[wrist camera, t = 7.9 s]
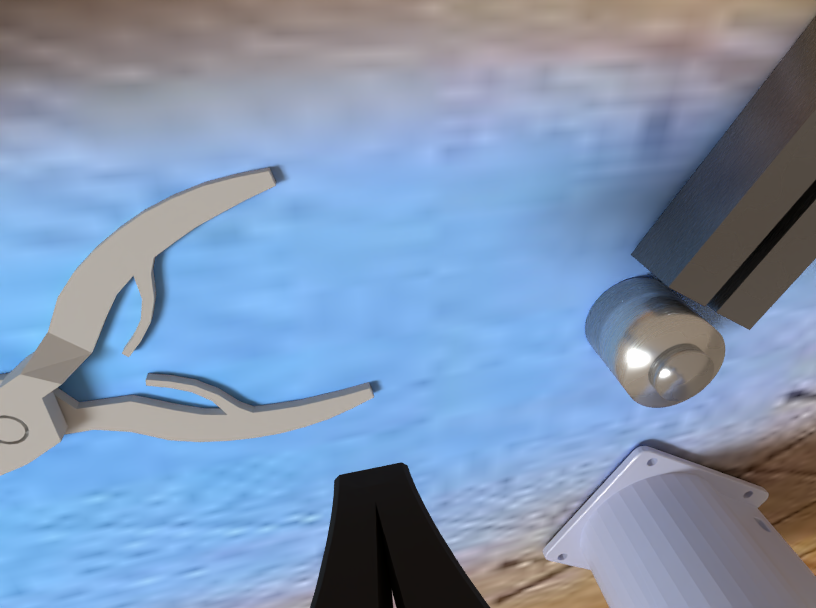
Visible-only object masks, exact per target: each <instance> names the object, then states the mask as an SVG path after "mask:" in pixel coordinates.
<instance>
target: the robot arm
mask: <svg viewBox="0 0 816 608" xmlns="http://www.w3.org/2000/svg"><path fill="white" fill-rule="evenodd" d="M768 496H769V494H768V492H767V491H766V490H765V489H764V488H763V487H761V486H758V485H755V484H752V483H750V482H747V481H744V480H741V479H738V478H735V477H733V476H730V475H727V474H724V473H721V472H719V471H716V470H713V469H710V468H707V467H705V466H702V465H699V464H696V463H693V462H691V461H688V460H685V459H682V458H679V457H676V456H674V455H671V454H668V453H665V452H662V451H660V450H657V449H654V448H651V447H648V446H640V447H638V448H636V449H635V450H633V451H632V453H631V454H630V455H629V456H628V457H627V458H626V459H625V460H624V461H623V462H622V463H621V465H620V466H619V467H618V468H617V469H616V470H615V471H614V472H613V473H612V474H611V475H610V477H609V478H608V479H607V480H606V481H605V482H604V483H603V484H602V485H601V486H600V487H599V489H598V490H597V491H596V492H595V493H594V494H593V495H592V496H591V497H590V498H589V499H588V501H587V502H586V503H585V504H584V505H583V506H582V507H581V508H580V509H579V510H578V511H577V513H576V514H575V515H574V516H573V517H572V518H571V519H570V520H569V521H568V522H567V523H566V524H565V526H564V527H563V528H562V529H561V530H560V531H559V532H558V533H557V534H556V535H555V536H554V538H553V539H552V540H551V541H550V542H549V543H548V544H547V545H546V546H545V548H544V549H543V553H544V556H545V558H546V559H547V560H549V561H553V562H558V563H562V564H567V565H571V566H576V567H580V568H585V569H589V570H591V571H592V573H593V575H594V577H595V579H596V581H597V583H598V585H599V587H600V589H601V591H602V593H603V595H604V597H605V599H606V601H607V603H608V606H609V608H816V576H815V575H814V574H813V573H812V572H811V570H810V569H809V568H808V567H807V566H806V565H805V563H804V562H803V561H802V560H801V559H800V557H799V556H798V555H797V554H796V553H795V552H794V550H793V549H792V548H791V547H790V546H789V545H788V543H787V542H786V541H785V540H784V539H783V538H782V536H781V535H780V534H779V533H778V532H777V530H776V529H775V528H774V527H773V526H772V525H771V523H770V522H769V521H768V520H767V519H766V518H765V516H764V515H763V514H762V513H761V512H760V511H759V509H758V507H759V506H761V505H762V504H763V503H764V502H765V501H766V500H767V499H768ZM392 592H393V596H394V600H395V604H396V608H490V607H489V605H488V604H487V603H486V601H485V600H484V599H483V597H482V596H481V594H480V593H479V591H478V590H477V589H476V587H475V586H474V584H473V583H472V582H471V580H470V579H469V577H468V576H467V574H466V573H465V571H464V570H463V568H462V567H461V566H460V564H459V563H458V561H457V559H456V558H455V556H454V555H453V553H452V551H451V550H450V548H449V547H448V545H447V543H446V542H445V540H444V539H443V537H442V535H441V534H440V532H439V530H438V529H437V527H436V525H435V524H434V522H433V520H432V518H431V516H430V514H429V513H428V511H427V509H426V507H425V505H424V503H423V501H422V499H421V497H420V495H419V493H418V491H417V489H416V487H415V484H414V482H413V479H412V477H411V474H410V472H409V468H408V466H407V465H405V464H404V463H402V462H401V463H396V464H392V465H387V466H382V467H377V468H372V469H367V470H362V471H357V472H352V473H347V474H342V475H339V476H338V477H337V478H336V479H335V480H334V497H333V507H332V514H331V520H330V526H329V531H328V537H327V542H326V547H325V551H324V555H323V560H322V564H321V568H320V573H319V577H318V581H317V585H316V589H315V593H314V596H313V600H312V603H311V606H310V608H393V599H392Z"/></svg>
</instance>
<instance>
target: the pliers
mask: <svg viewBox="0 0 816 608" xmlns="http://www.w3.org/2000/svg"><path fill="white" fill-rule="evenodd" d="M274 186H276V181H275V179H274V177H273V175H272V172H271V170H270V168H264V169H259V170H253V171H248V172H243V173H238V174H234V175H230V176H226V177H222V178H218V179H215V180H211V181H207V182H204V183H201V184H199V185H196V186H194V187H191V188H189V189H186V190H184V191H181V192H179V193H176V194H174V195H172V196H170V197H168V198H166V199H164V200H162V201H160V202H159V203H157V204H155V205H153V206H151V207H149V208H147V209H145V210H144V211H142V212H141V213H139V214H138V215H136V216H135V217H134V218H132V219H131V220H129V221H128V222H126V223H125V224H124V225H122V226H121V227H119V228H118V229H117V230H116V231H115V232H113V233H112V234H111V235H110V236H109V237H107V238H106V239H105V240H104V241H103V242H102V243H100V244H99V245H98V246H97V247H96V248H95V249H94V250H93V251H92V252H91V253H90V254H89V256H88V257H87V258H86V259H85V260H84V261H83V262H82V263H81V264H80V265H79V266H78V267H77V269H76V270H75V272H74V273H73V275H72V276H71V278H70V279H69V281H68V282H67V284H66V286H65V287H64V289H63V290H62V292H61V293H60V295H59V296H58V298H57V302H56V305H55V309H54V313H53V316H52V320H51V323H50V327H49V330H48V333H47V334H46V336H45V337H44V339H43V340H42V342H41V343H40V345H39V346H38V348H37V349H36V351H35V352H33V353H32V354H30V355H29V356H27V357H26V358H25V359H24V360H23V361H22V362H21V363H20V364H19V365H17V366H16V367H15V368H14V369H13V370H12V371H11V372H10V373H5V374H0V476H1V475H3V474H5V473H8V472H10V471H12V470H15V469H17V468H20V467H22V466H24V465H27V464H28V463H30V462H31V461H33V460H34V459H36V458H37V457H39V456H40V455H42V454H43V453H45V452H46V451H48V450H49V449H50V448H52V447H53V446H55V445H56V444H58V443H59V442H61V440H62V438H63V436H64V434H70V433H76V432H82V431H89V430H109V431H126V432H134V433H139V434H143V435H148V436H153V437H157V438H162V439H167V440H176V441H192V442H210V441H231V440H240V439H249V438H256V437H262V436H268V435H274V434H280V433H283V432H287V431H291V430H295V429H299V428H303V427H306V426H309V425H312V424H315V423H318V422H321V421H324V420H327V419H330V418H332V417H334V416H336V415H339V414H341V413H343V412H345V411H347V410H350V409H352V408H354V407H356V406H358V405H360V404H362V403H364V402H365V401H367V400H369V399H371V398H373V397H374V395H373V390H372V388H371V386H370V384H369V382H368V383H364V384H361V385H357V386H354V387H350V388H347V389H343V390H339V391H335V392H331V393H327V394H322V395H318V396H314V397H309V398H305V399H301V400H295V401H289V402H283V403H276V404H268V405H260V406H251V405H249V404H246V403H243V402H240V401H238V400H237V399H235V398H234V397H232V396H230V395H229V394H227V393H226V392H224V391H222V390H221V389H219V388H217V387H214V386H212V385H209V384H206V383H204V382H201V381H199V380H196V379H191V378H185V377H179V376H174V375H164V374H152V373H148V375H147V378H146V385H147V386H157V387H168V388H174V389H179V390H184V391H189V392H193V393H195V394H197V395H200V396H202V397H204V398H206V399H209V400H211V401H213V402H214V403H215V404H216V405H217V406H218V407H219V408H199V407H193V406H187V405H181V404H175V403H171V402H166V401H161V400H156V399H151V398H146V397H142V396H137V395H127V396H120V397H113V398H106V399H99V400H92V401H85V402H78V401H77V400H75V399H74V398H72V397H71V396H69V395H68V394H66V393H65V392H63V391H62V390H60V389H59V388H57V387H59V386H60V385H62V384H63V383H64V382H65V381H66V379H67V378H68V377H69V376H70V375H71V374H72V373H73V372H74V371H75V370H76V369H77V368H78V367H79V366H80V365H81V364H82V363H83V362H84V361H85V360H86V359H87V358H88V357H89V356H90V354H91V353H92V352H93V350H94V348H95V346H96V343H97V341H98V338H99V336H100V333H101V330H102V328H103V325H104V323H105V320H106V318H107V315H108V313H109V310H110V308H111V306H112V304H113V302H114V300H115V298H116V296H117V294H118V293H119V291H120V290H121V289H122V288H123V287H124V286H125V285H126V283H127V282H128V281H129V280H130V279H131V278H132V277H133V276H134V278H135V281H136V284H137V286H138V289H139V292H140V295H141V297H142V310H141V320H140V322H139V325H138V327H137V329H136V331H135V333H134V334H133V336H132V337H131V339H130V340H129V342H128V343H127V344H126V346H125V347H124V350H123V352H122V354H124V355H126V356H128V357H129V356H130V355H131V354H132V352H133V351H134V350H135V348H136V347H137V346H138V344H139V343H140V342H141V340H142V338H143V336H144V334H145V332H146V330H147V328H148V327H149V325H150V323H151V320H152V318H153V312H154V306H155V300H156V287H155V279H154V271H153V267H154V262H155V256H157V255H158V254H159V253H161V252H162V251H163V250H165V249H166V248H167V247H169V246H170V245H171V244H173V243H174V242H175V241H177V240H178V239H180V238H181V237H183V236H184V235H185V234H187V233H188V232H190V231H191V230H193V229H194V228H195V227H197V226H199V225H201V224H203V223H204V222H206V221H208V220H210V219H211V218H213V217H215V216H217V215H219V214H220V213H222V212H224V211H226V210H228V209H230V208H232V207H233V206H235V205H237V204H239V203H241V202H243V201H245V200H246V199H249V198H251V197H253V196H255V195H257V194H259V193H261V192H263V191H266V190H268V189H270V188H272V187H274Z"/></svg>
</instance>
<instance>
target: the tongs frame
mask: <svg viewBox="0 0 816 608" xmlns="http://www.w3.org/2000/svg"><path fill="white" fill-rule="evenodd" d="M815 258H816V180H815V181H814V182H813V183H812V184H811V185H810V187H809V188H808V189H807V190H806V191H805V192H804V193H803V195H802V196H801V197H800V198H799V199H798V200H797V201H796V203H795V204H794V205H793V206H792V207H791V208H790V210H789V211H788V212H787V213H786V214H785V215H784V216H783V218H782V219H781V220H780V221H779V222H778V223H777V224H776V226H775V227H774V228H773V229H772V230H771V231H770V232H769V234H768V235H767V236H766V237H765V238H764V239H763V240H762V242H761V243H760V244H759V245H758V246H757V247H756V248H755V250H754V251H753V252H752V253H751V254H750V255H749V257H748V258H747V259H746V260H745V261H744V262H743V263H742V265H741V266H740V267H739V268H738V269H737V270H736V271H735V273H734V274H733V275H732V276H731V277H730V278H729V279H728V281H727V282H726V283H725V284H724V285H723V286H722V287H721V289H720V290H719V291H718V292H717V293H716V294H715V295H714V297H713V298H712V299H711V300H710V301H709V302H708V304H707V305H708V306H709V307H710V308H712V309H713V310H714V311H715V312H716V313H718V314H720V315H722V316H724V317H726V318H728V319H730V320H732V321H734V322H736V323H737V324H739V325H741V326H743V327H745V328H747V329H749V330H750V329H751V328H752V327H753V326H754V325H755V324H756V322H757V321H758V320H759V319H760V318H761V317H762V316H763V315H764V314H765V313H766V312H767V310H768V309H769V308H770V307H771V306H772V305H773V304H774V303H775V302H776V301H777V300H778V299H779V297H780V296H781V295H782V294H783V293H784V292H785V291H786V290H787V289H788V288H789V287H790V286H791V284H792V283H793V282H794V281H795V280H796V279H797V278H798V277H799V276H800V275H801V274H802V273H803V271H804V270H805V269H806V268H807V267H808V266H809V265H810V264H811V263H812V262H813V261H814V260H815ZM585 334H586V338H587V340H588V342H589V344H590V345H591V346H592V348H593V349H594V350H595V352H596V353H597V354H598V355H599V357H600V358H601V359H602V361H603V362H604V363H605V364H606V366H607V367H608V368H609V370H610V371H611V372H612V373H613V375H614V376H615V377H616V379H617V380H618V381H619V382H620V384H621V385H622V386H623V388H624V389H625V390H626V391H627V393H628V394H629V395H630V397H631V398H632V399H633V400H634V401H636V402H637V403H639V404H641V405H643V406H646V407H652V408H661V407H668V406H672V405H676V404H678V403H681V402H683V401H685V400H687V399H689V398H691V397H693V396H694V395H696V394H698V393H699V392H700V391H702V390H703V389H704V388H705V387H706V386H707V385H708V384H709V383H710V382H711V381H712V379H713V378H714V377H715V376H716V374H717V373H718V371H719V369H720V367H721V365H722V363H723V360H724V356H725V343H724V340H723V337H722V336H721V334H720V333H719V332H718V331H717V330H716V329H715V328H714V327H713V326H711V325H710V324H709V323H708V322H707V321H706V320H704V319H703V318H702V317H701V316H700V315H699V314H698V313H696V312H695V311H694V310H693V309H692V308H691V307H690V306H688V305H687V304H686V303H685V302H684V301H683V300H682V299H680V298H679V297H678V296H677V295H676V294H675V293H673V292H672V291H671V290H670V289H669V288H668V287H667V286H665V285H664V284H663V283H662V282H660V281H658V280H656V279H653V278H648V277H637V278H632V279H628V280H625V281H622V282H620V283H618V284H616V285H614V286H613V287H611V288H610V289H608V290H607V291H606V292H604V293H603V294H602V295H601V296H600V297H599V298H598V299H597V301H596V302H595V303H594V305H593V306H592V308H591V309H590V311H589V313H588V316H587V319H586V324H585Z"/></svg>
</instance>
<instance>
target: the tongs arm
mask: <svg viewBox="0 0 816 608" xmlns="http://www.w3.org/2000/svg"><path fill="white" fill-rule="evenodd" d="M815 180H816V17H815V18H814V19H813V21H812V22H811V23H810V24H809V26H808V27H807V28H806V30H805V31H804V32H803V34H802V35H801V36H800V37H799V39H798V40H797V41H796V43H795V44H794V45H793V46H792V48H791V49H790V50H789V52H788V53H787V54H786V55H785V57H784V58H783V59H782V61H781V62H780V63H779V64H778V66H777V67H776V68H775V70H774V71H773V72H772V73H771V75H770V76H769V77H768V79H767V80H766V81H765V82H764V84H763V85H762V86H761V88H760V89H759V90H758V91H757V93H756V94H755V95H754V97H753V98H752V99H751V100H750V102H749V103H748V104H747V106H746V107H745V108H744V109H743V111H742V112H741V113H740V115H739V116H738V117H737V119H736V120H735V121H734V122H733V124H732V125H731V126H730V128H729V129H728V130H727V131H726V133H725V134H724V135H723V137H722V138H721V139H720V140H719V142H718V143H717V144H716V146H715V147H714V148H713V149H712V151H711V152H710V153H709V155H708V156H707V157H706V158H705V160H704V161H703V162H702V164H701V165H700V166H699V167H698V169H697V170H696V171H695V173H694V174H693V175H692V176H691V178H690V179H689V180H688V182H687V183H686V184H685V185H684V187H683V188H682V189H681V191H680V192H679V193H678V195H677V196H676V197H675V198H674V200H673V201H672V202H671V204H670V205H669V206H668V207H667V209H666V210H665V211H664V213H663V214H662V215H661V216H660V218H659V219H658V220H657V222H656V223H655V224H654V225H653V227H652V228H651V229H650V231H649V232H648V233H647V234H646V236H645V237H644V238H643V240H642V241H641V242H640V243H639V245H638V246H637V247H636V249H635V250H634V251H633V252H632V254H631V255H632V256H633V257H634V258H635V259H637V260H638V261H639V262H640V263H641V264H642V265H643V266H645V267H646V268H647V269H648V270H649V271H650V272H651V273H653V274H654V275H655V276H656V277H657V278H658V279H660V280H661V281H662V282H663V283H664V284H665V285H666V286H668V287H669V288H671V289H673V290H675V291H677V292H678V293H680V294H682V295H684V296H686V297H688V298H690V299H692V300H694V301H695V302H697V303H699V304H701V305H703V306H706V305H707V304H708V302H709V301H710V300H711V299H712V298H713V297H714V295H715V294H716V293H717V292H718V291H719V290H720V289H721V287H722V286H723V285H724V284H725V283H726V282H727V281H728V279H729V278H730V277H731V276H732V275H733V274H734V273H735V271H736V270H737V269H738V268H739V267H740V266H741V265H742V263H743V262H744V261H745V260H746V259H747V258H748V257H749V255H750V254H751V253H752V252H753V251H754V250H755V248H756V247H757V246H758V245H759V244H760V243H761V242H762V240H763V239H764V238H765V237H766V236H767V235H768V234H769V232H770V231H771V230H772V229H773V228H774V227H775V226H776V224H777V223H778V222H779V221H780V220H781V219H782V218H783V216H784V215H785V214H786V213H787V212H788V211H789V210H790V208H791V207H792V206H793V205H794V204H795V203H796V201H797V200H798V199H799V198H800V197H801V196H802V195H803V193H804V192H805V191H806V190H807V189H808V188H809V187H810V185H811V184H812V183H813V182H814V181H815Z"/></svg>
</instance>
